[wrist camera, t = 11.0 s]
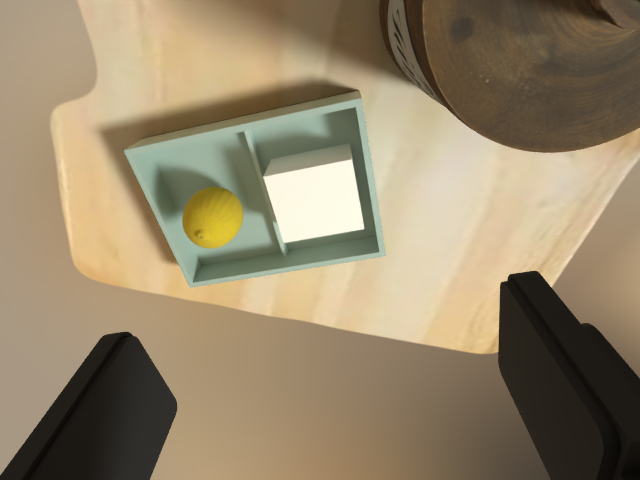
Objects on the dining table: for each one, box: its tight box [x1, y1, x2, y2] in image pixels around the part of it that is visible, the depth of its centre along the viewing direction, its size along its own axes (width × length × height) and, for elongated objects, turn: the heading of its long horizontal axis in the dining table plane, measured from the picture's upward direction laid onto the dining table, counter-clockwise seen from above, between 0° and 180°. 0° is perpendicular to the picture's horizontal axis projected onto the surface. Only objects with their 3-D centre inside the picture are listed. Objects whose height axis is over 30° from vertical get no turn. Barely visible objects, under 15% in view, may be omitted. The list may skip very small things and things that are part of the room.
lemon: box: [182, 187, 243, 248], centre depth 37 cm, size 6×6×8 cm
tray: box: [123, 90, 386, 288], centre depth 39 cm, size 16×22×4 cm
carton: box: [263, 143, 364, 243], centre depth 37 cm, size 7×8×5 cm
